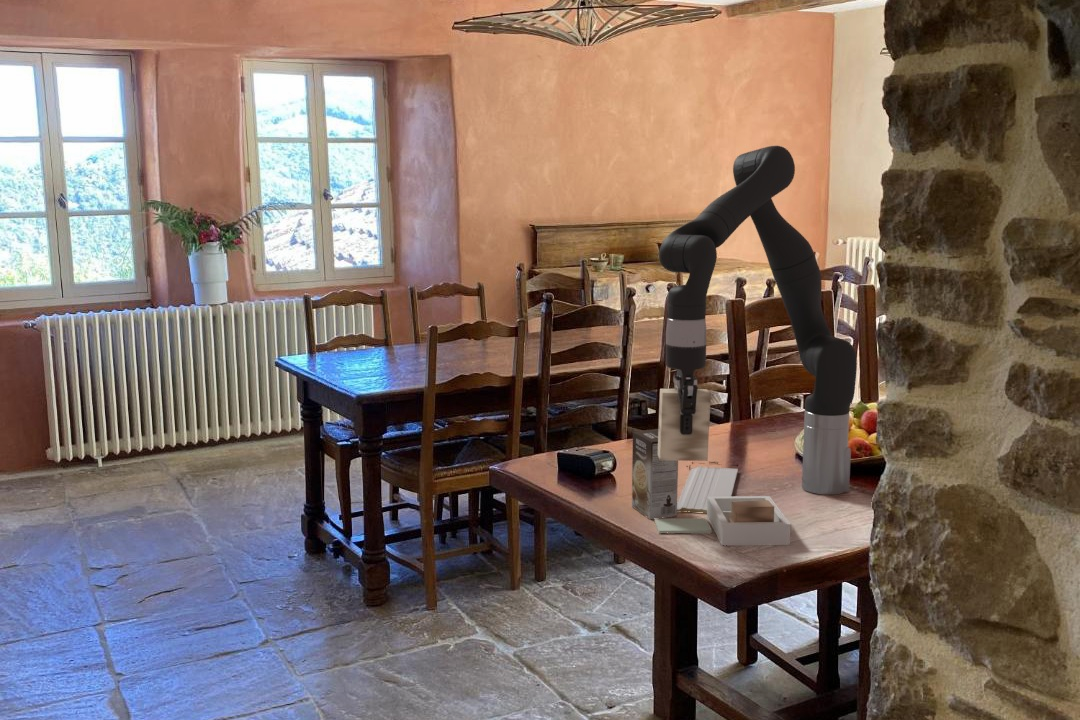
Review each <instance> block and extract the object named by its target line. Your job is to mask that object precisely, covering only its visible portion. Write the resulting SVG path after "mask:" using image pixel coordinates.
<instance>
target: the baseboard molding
mask: <svg viewBox="0 0 1080 720" xmlns="http://www.w3.org/2000/svg"><path fill="white" fill-rule="evenodd" d="M691 464H692V465H693V464H694V461H692V462H691ZM691 464H689V466H688V465H686V468H688V469H690V470H689V471H690V472H689V474H688V476H687V479H686V481H685V484H684V486H683V488H682V491H681V493H680V496H679V498H678V499H677V511H687V512H686V513H690V512H703V513H707V497H725V496H732V495H733V492H734V487H735V484H736V479H737V476H738V471H739V468H729V467H728V468H727V467H710V466H697V467H695V468H692V467H691ZM699 464H703V465H705V463H701V462H699ZM710 464H713V465H717V466H719V465H720V466H721V464H719V461H710ZM731 466H734V467H738V466H739V465H738V464H734V465H733V464H731ZM688 511H690V512H688ZM703 513H702V514H703Z"/></svg>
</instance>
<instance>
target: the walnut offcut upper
mask: <svg viewBox="0 0 1080 720" xmlns="http://www.w3.org/2000/svg"><path fill="white" fill-rule="evenodd" d="M731 520H732V521H733V522H734V523H735V522H774V506H773V505H772V504H771V503H770V502H769V501H768V500H761V501H736V502H731Z"/></svg>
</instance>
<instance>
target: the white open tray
mask: <svg viewBox="0 0 1080 720" xmlns="http://www.w3.org/2000/svg"><path fill="white" fill-rule="evenodd" d="M761 500H768V501H769V502H770V503H771V504H772V505H773V506H774V522H735V523H729V519H731V502H736V501H761ZM706 517H707V519H708V521H709V523H710V525H711V528H712V529H713V530H714V533H715V534H716V536H717V539H718V540H719V542H720V544H721V546H723V545H724V546H726V545H727V546H733V547H734V546H735V547H736V546H790V545H791V544H790V543H791V523H790V521H789V520H788V519H787V517H786V516H785V515H784V514H783V512H782V511H781V510H780V508H779V507H778V506H777V504H776V503H775V502H774V500H773V499H772V498H771V495H761V496H759V495H757V496H756V495H755V496H753V495H752V496H751V495H748V496H747V495H745V496H744V495H743V496H737V495H735V496H725V497H707V514H706Z"/></svg>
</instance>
